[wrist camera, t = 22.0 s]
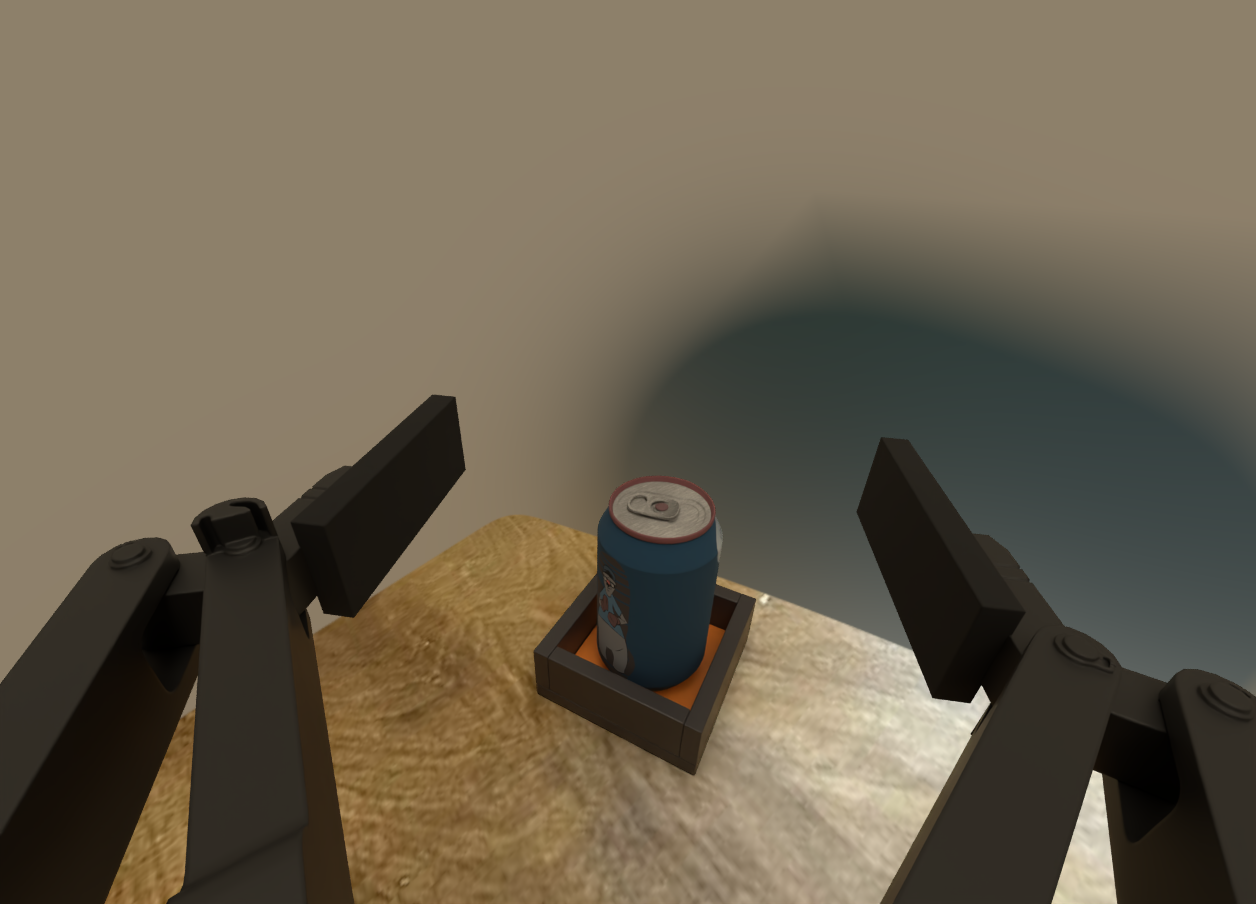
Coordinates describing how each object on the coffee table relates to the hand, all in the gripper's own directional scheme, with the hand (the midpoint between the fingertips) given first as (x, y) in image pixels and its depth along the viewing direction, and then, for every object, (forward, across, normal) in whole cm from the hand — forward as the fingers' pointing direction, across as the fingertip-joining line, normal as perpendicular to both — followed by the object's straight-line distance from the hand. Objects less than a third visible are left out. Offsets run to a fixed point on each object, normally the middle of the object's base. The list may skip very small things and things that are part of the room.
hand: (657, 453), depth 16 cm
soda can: (+9, 0, -20) cm, 22 cm away
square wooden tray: (+9, 0, -21) cm, 23 cm away
